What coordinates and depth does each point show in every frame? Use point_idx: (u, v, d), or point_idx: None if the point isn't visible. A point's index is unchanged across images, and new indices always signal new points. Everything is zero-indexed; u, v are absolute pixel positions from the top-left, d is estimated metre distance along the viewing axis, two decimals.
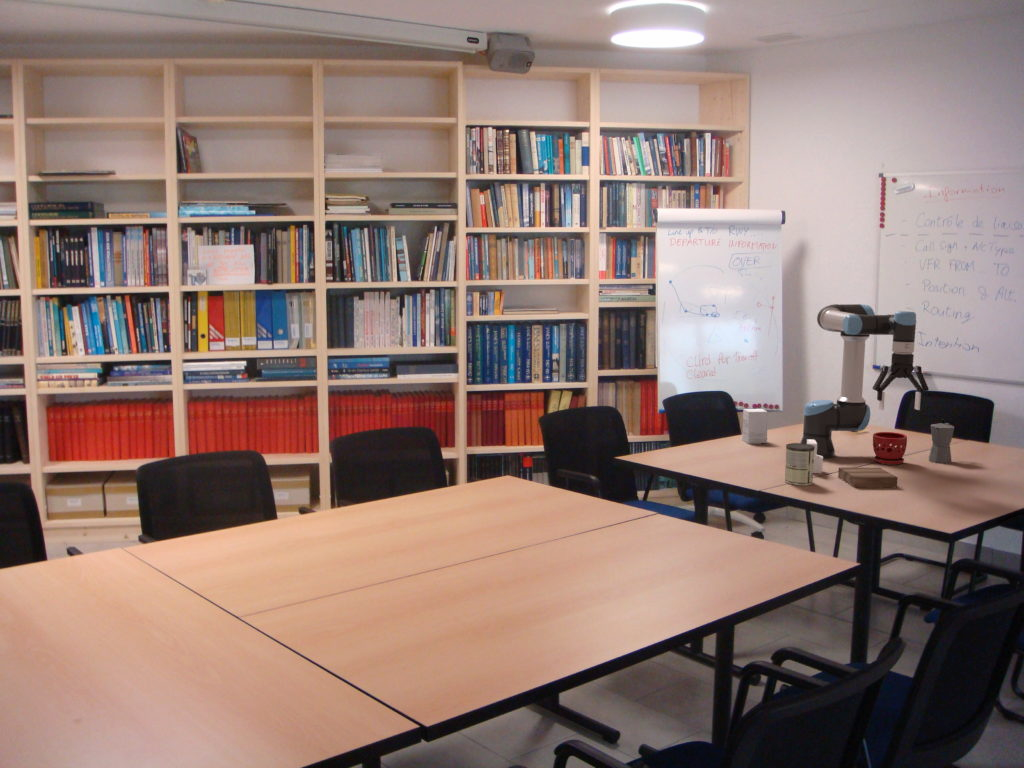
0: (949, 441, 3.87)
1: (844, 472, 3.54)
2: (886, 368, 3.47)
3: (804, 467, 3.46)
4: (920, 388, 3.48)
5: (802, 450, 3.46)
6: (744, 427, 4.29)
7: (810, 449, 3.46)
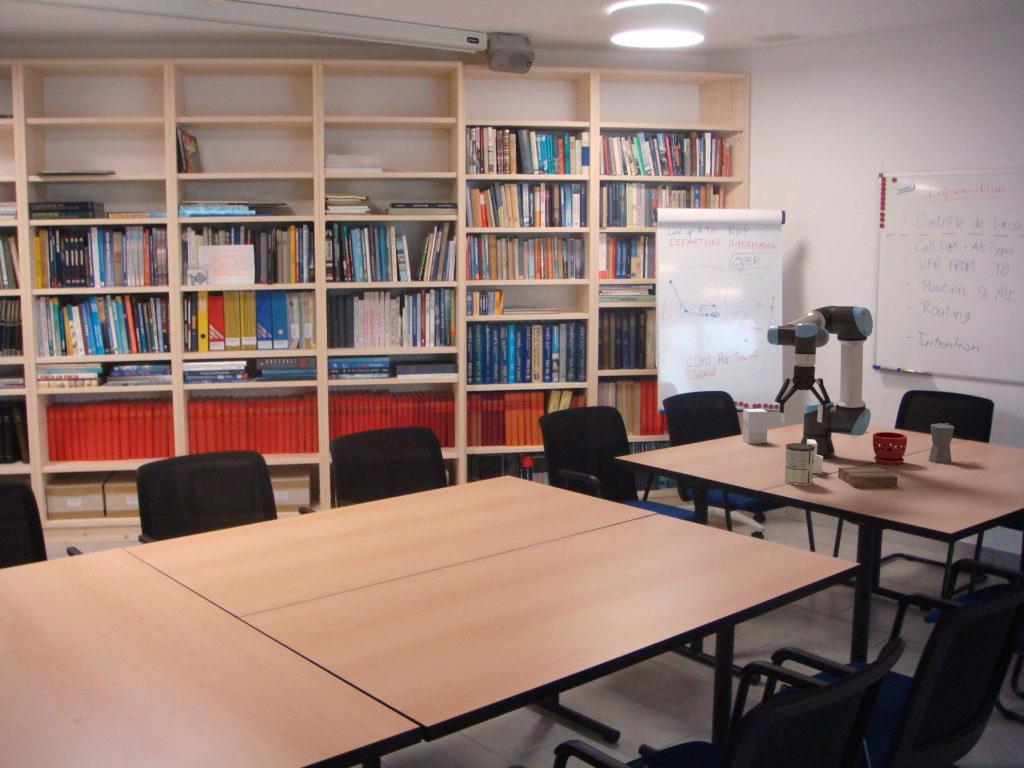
0: (949, 441, 3.87)
1: (844, 472, 3.54)
2: (787, 380, 3.46)
3: (804, 467, 3.46)
4: (822, 400, 3.47)
5: (802, 450, 3.46)
6: (744, 427, 4.29)
7: (810, 449, 3.46)
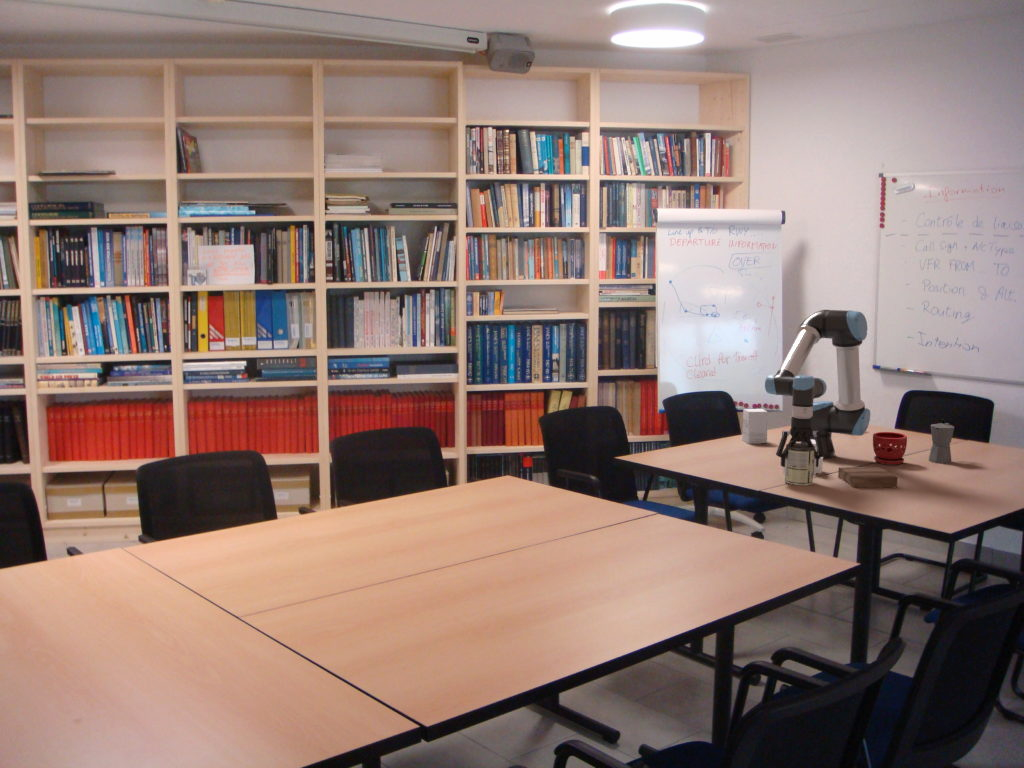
0: (949, 441, 3.87)
1: (844, 472, 3.54)
2: (785, 434, 3.48)
3: (804, 467, 3.46)
4: (816, 454, 3.50)
5: (802, 450, 3.46)
6: (745, 427, 4.29)
7: (810, 449, 3.46)
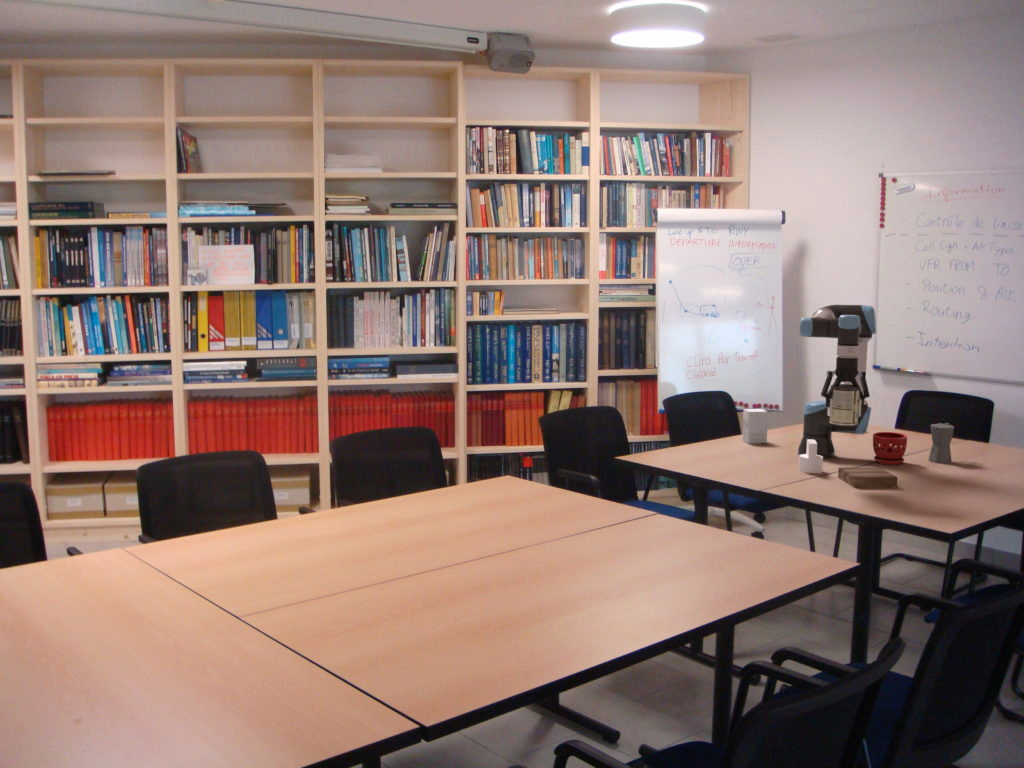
0: (949, 441, 3.87)
1: (844, 472, 3.54)
2: (830, 373, 3.46)
3: (849, 407, 3.44)
4: (861, 394, 3.47)
5: (847, 390, 3.43)
6: (745, 427, 4.29)
7: (855, 389, 3.43)
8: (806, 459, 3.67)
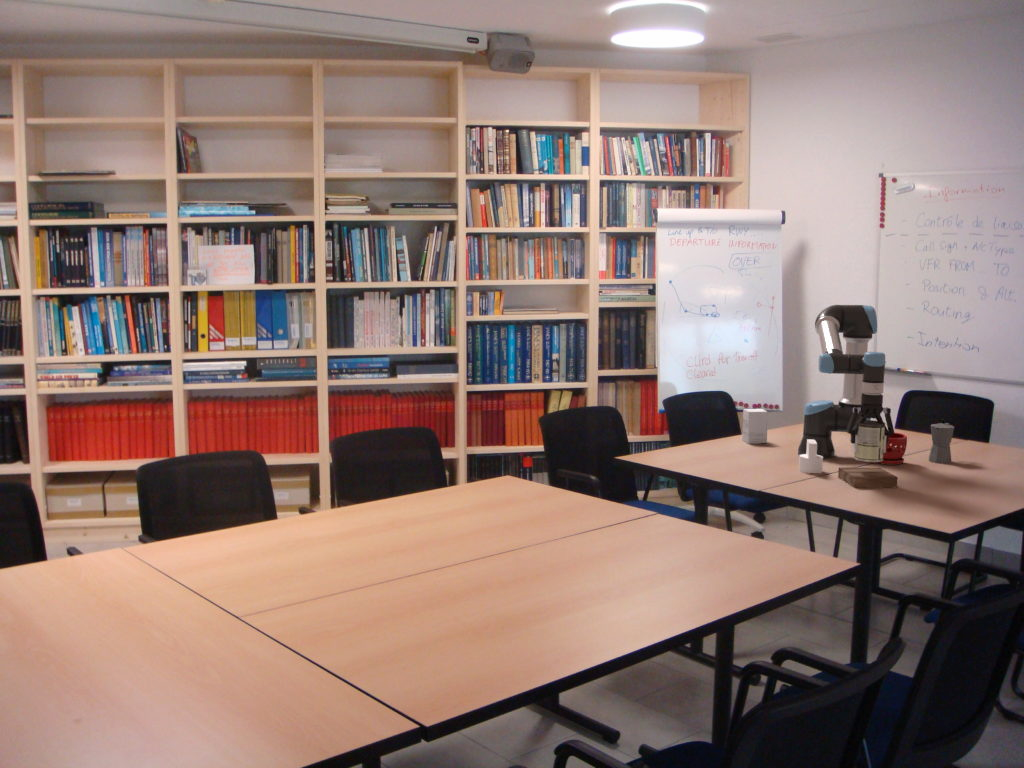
0: (949, 441, 3.87)
1: (844, 472, 3.54)
2: (855, 410, 3.48)
3: (875, 444, 3.46)
4: (886, 431, 3.49)
5: (873, 426, 3.45)
6: (744, 427, 4.29)
7: (881, 425, 3.45)
8: (806, 459, 3.67)
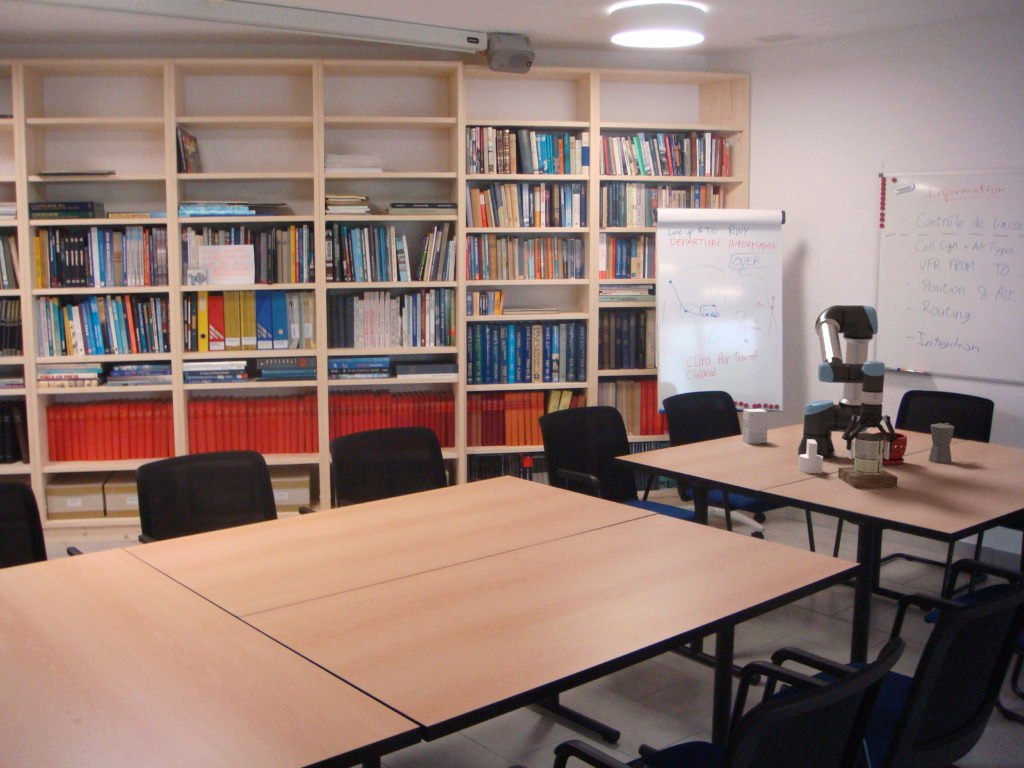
0: (949, 441, 3.87)
1: (844, 472, 3.54)
2: (855, 418, 3.48)
3: (874, 457, 3.46)
4: (889, 438, 3.49)
5: (872, 440, 3.46)
6: (745, 427, 4.29)
7: (880, 439, 3.46)
8: (806, 459, 3.67)
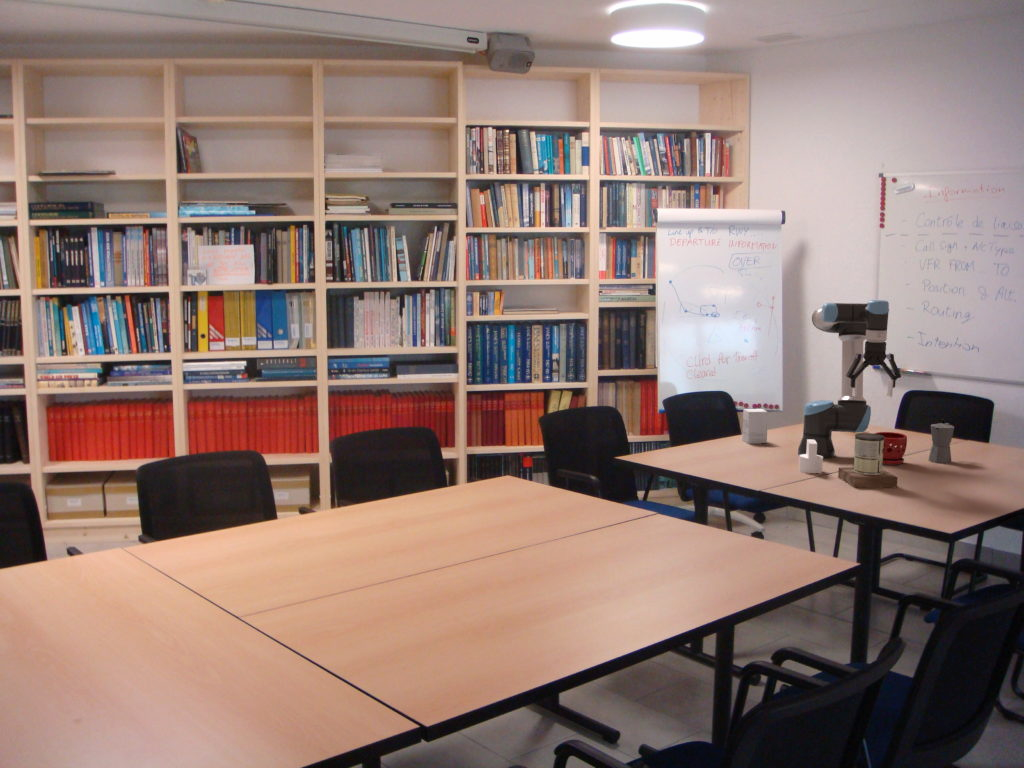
0: (949, 441, 3.87)
1: (844, 472, 3.54)
2: (859, 356, 3.55)
3: (874, 457, 3.46)
4: (892, 375, 3.56)
5: (872, 440, 3.46)
6: (745, 427, 4.29)
7: (880, 439, 3.46)
8: (806, 459, 3.67)
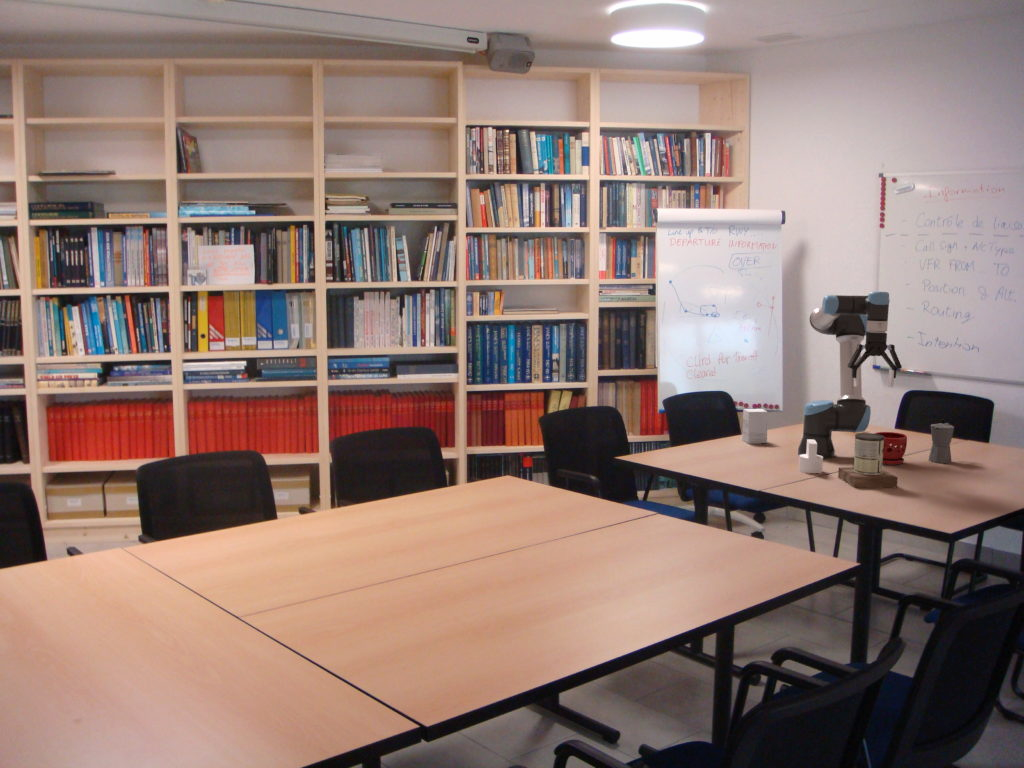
0: (949, 441, 3.87)
1: (844, 472, 3.54)
2: (860, 346, 3.59)
3: (874, 457, 3.46)
4: (893, 366, 3.60)
5: (872, 440, 3.46)
6: (744, 427, 4.29)
7: (880, 439, 3.46)
8: (806, 459, 3.67)
